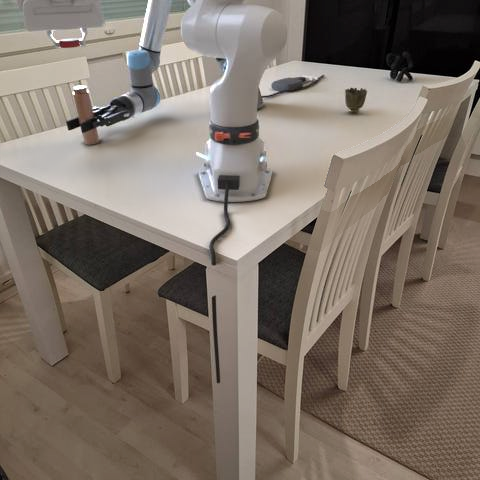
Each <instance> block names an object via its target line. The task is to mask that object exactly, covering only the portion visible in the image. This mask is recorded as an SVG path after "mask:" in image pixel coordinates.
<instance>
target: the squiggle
mask: <svg viewBox="0 0 480 480" xmlns="http://www.w3.org/2000/svg"><path fill="white" fill-rule="evenodd" d="M401 57H402V59H401ZM391 59H392V60H391ZM393 60H394V61H393ZM385 61H386V64H387V67H390V68H391V70H390V72H389V78H390V79H391V80H395V79H396V81H397V82H399V83H400V82H402V81H403V79H404V76H406V78H407V80H408V81H412V80H413V79H414V77H413V75H412V74H411V73H410V72H409V71H410V70H412V69H413V68H414V64H413V61H412V57H411V54H410V53H409V52H408V51H403V53H402V54H401V55H396V54H394V53H392V52H390V53H387V55H386V57H385ZM406 62H407V65H408V66H407V67H405V66H404V65H405V64H406ZM400 70H401V71H400Z"/></svg>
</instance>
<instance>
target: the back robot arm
mask: <svg viewBox="0 0 480 480" xmlns="http://www.w3.org/2000/svg"><path fill="white" fill-rule="evenodd" d="M186 1H187V3H188V5H189V6H190V7H191V6H192V5H193V4H194V3H195V2H196V1H197V0H186ZM172 3H173V0H148V1H147V7H146V10H145V11H146V12H145V15H144V22H143V27H142V32H141V37H140V42H139V47H138V49H137V50H136V49H135V50H131V51H128V52H127V53H126V66H127V69H128V77H129V83H130V89H131V90H130V91H129V92H126V93H123V94H121V95H119V96H116V97H114V98H112V99H111V100H110V103H109V104H106V105H105V106H102V107H100V105H95V106H94V107H92V108H93V112H94V117H95V118H93V119H90V120H87V121H85V122H82V123H79V119H78V114H77V113H76V115H77V116H76V117H73V118H71V119H69V120H66V121H65V122H66V127H67V130H68V131H72V130H75V129H78V128H80V131H81V134H82V133H85V132H87V131H90V130H92V129H94V128H97V129H98V128H99V127H104V126H105V127H111V126H113V125H116V124H117V123H120V122H124V121H126V120H129V119H131V118H135V116H138V115H140V114H143V113H144V112H147V111H151V110H152V109H155V108H156V107H158V106H159V105H160V102H161V99H162V97H161V93H160V92H159V89H158V88H157V87H156V86H154V83H153V73H154V72H156V71H157V70H158V69H159V66H160V63H161V58H160V57H161V52H162V48H163V43H164V38H165V34H166V29H167V27H168V21H169V17H170V12H171V8H172ZM214 58H215V60H216V62H217V64H218V65H219V67H220V69H221V71H222V77H223V76H224V74H225V71H226V66H227V59H224V58H216V57H214ZM324 77H325V74H322V75H320V76H318V77H317V78H318V80H313V82H311V83H309V84H306V85H303V86H302V87H300V88H296V89H293V90H290V91H288V90H285V91H277V92H274V93H271V94H268V95H262V93H261V90H260V88H259V89H258V101H257V111H258V110H260V109H262V108H264V100H263V99H265V98H266V99H268V98H272V97H274V96H276V95H280V94H283V93H290V92H295V91H299V90H300V91H301V90H304V89H307V88H308V87H311V86H313V85H315V84H316V83H317V82H318V81H320V80H321V79H322V78H324Z"/></svg>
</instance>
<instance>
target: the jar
mask: <svg viewBox="0 0 480 480" xmlns="http://www.w3.org/2000/svg"><path fill="white" fill-rule="evenodd" d="M72 90H73V92H72V98H73V101H74V107H75V111H76V115H77V114H78V115H77V117H78V119H79V123H82V122H85V121H87V120H90V119H93V118H95V117H94V112H93V108H94V107H93V103H92V98H91V94H90V91H89V90H88V87H87V86H86V85H76V86H74V87H72ZM81 136H82V139H83V143H84V145H88V146H89V145H96V144H99V142H100V136H99V130H98V127H97V128H94V129H92V130H90V131H87V132H85V133H82V132H81Z"/></svg>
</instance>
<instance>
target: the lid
mask: <svg viewBox="0 0 480 480" xmlns="http://www.w3.org/2000/svg"><path fill="white" fill-rule="evenodd" d="M79 39H80V38H78V37H69V38H68V37H67V38H61V39H59V40H58V41H59V43H60V47H61V48H62V49H73V48H78V47H80V43H79Z"/></svg>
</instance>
